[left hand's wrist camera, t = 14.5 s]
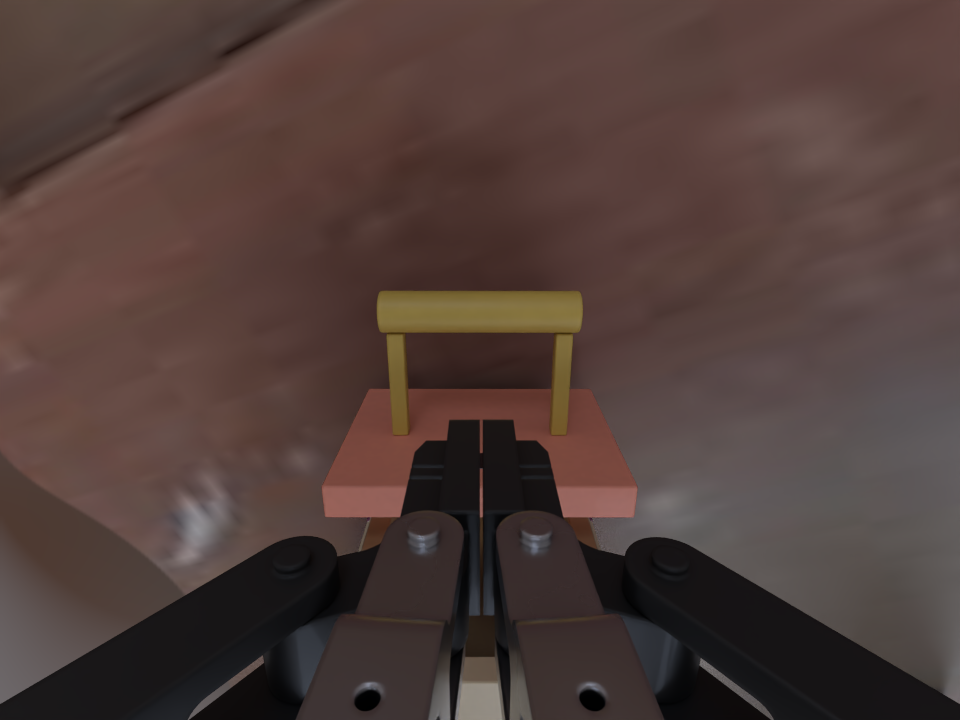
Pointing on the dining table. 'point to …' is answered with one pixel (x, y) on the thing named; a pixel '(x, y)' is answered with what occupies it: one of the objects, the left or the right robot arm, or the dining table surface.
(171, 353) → the dining table surface
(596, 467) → the drawer
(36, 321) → the dining table surface
